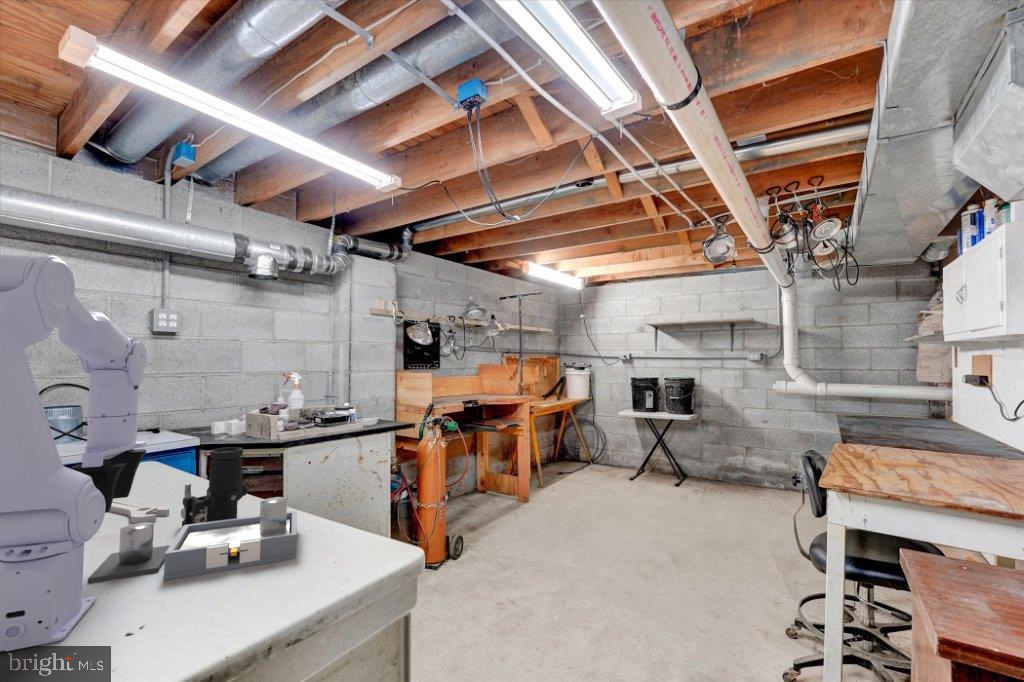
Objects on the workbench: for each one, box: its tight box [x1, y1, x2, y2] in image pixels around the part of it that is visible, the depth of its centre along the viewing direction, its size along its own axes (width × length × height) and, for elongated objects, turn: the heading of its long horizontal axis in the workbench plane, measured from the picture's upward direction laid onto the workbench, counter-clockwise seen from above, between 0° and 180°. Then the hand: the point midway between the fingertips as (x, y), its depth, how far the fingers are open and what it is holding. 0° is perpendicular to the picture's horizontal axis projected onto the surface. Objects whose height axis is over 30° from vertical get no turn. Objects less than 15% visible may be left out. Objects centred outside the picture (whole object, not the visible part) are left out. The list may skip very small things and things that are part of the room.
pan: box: [180, 519, 290, 556], centre depth 73 cm, size 12×15×1 cm
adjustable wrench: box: [109, 500, 170, 524], centre depth 94 cm, size 25×6×2 cm, turn 63°
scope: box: [180, 446, 249, 528], centre depth 87 cm, size 8×14×10 cm
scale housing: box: [162, 510, 298, 581], centre depth 74 cm, size 13×17×4 cm
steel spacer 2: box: [259, 496, 288, 535], centre depth 76 cm, size 4×4×5 cm
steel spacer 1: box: [118, 522, 155, 566], centre depth 70 cm, size 4×4×5 cm
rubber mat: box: [87, 544, 171, 584], centre depth 69 cm, size 9×8×1 cm
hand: (110, 504), depth 69 cm, fingers open, 7 cm apart
